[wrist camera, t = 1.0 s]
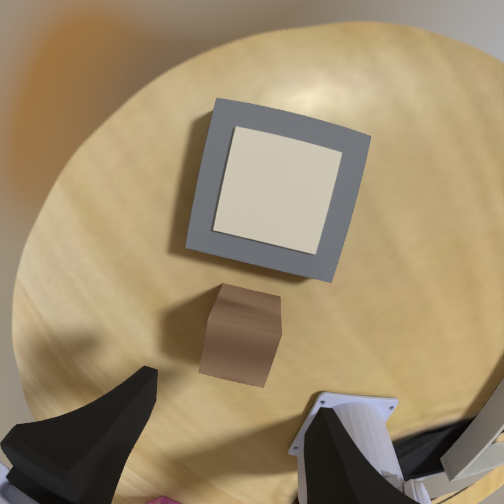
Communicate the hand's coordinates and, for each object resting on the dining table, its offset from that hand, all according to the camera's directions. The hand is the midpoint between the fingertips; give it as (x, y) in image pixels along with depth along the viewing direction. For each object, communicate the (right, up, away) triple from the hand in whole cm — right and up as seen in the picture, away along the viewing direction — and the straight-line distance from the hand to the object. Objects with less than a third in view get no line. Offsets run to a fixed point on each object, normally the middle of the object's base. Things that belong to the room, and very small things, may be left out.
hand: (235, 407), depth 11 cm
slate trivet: (+2, +11, +7) cm, 13 cm away
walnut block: (0, +2, +9) cm, 10 cm away
